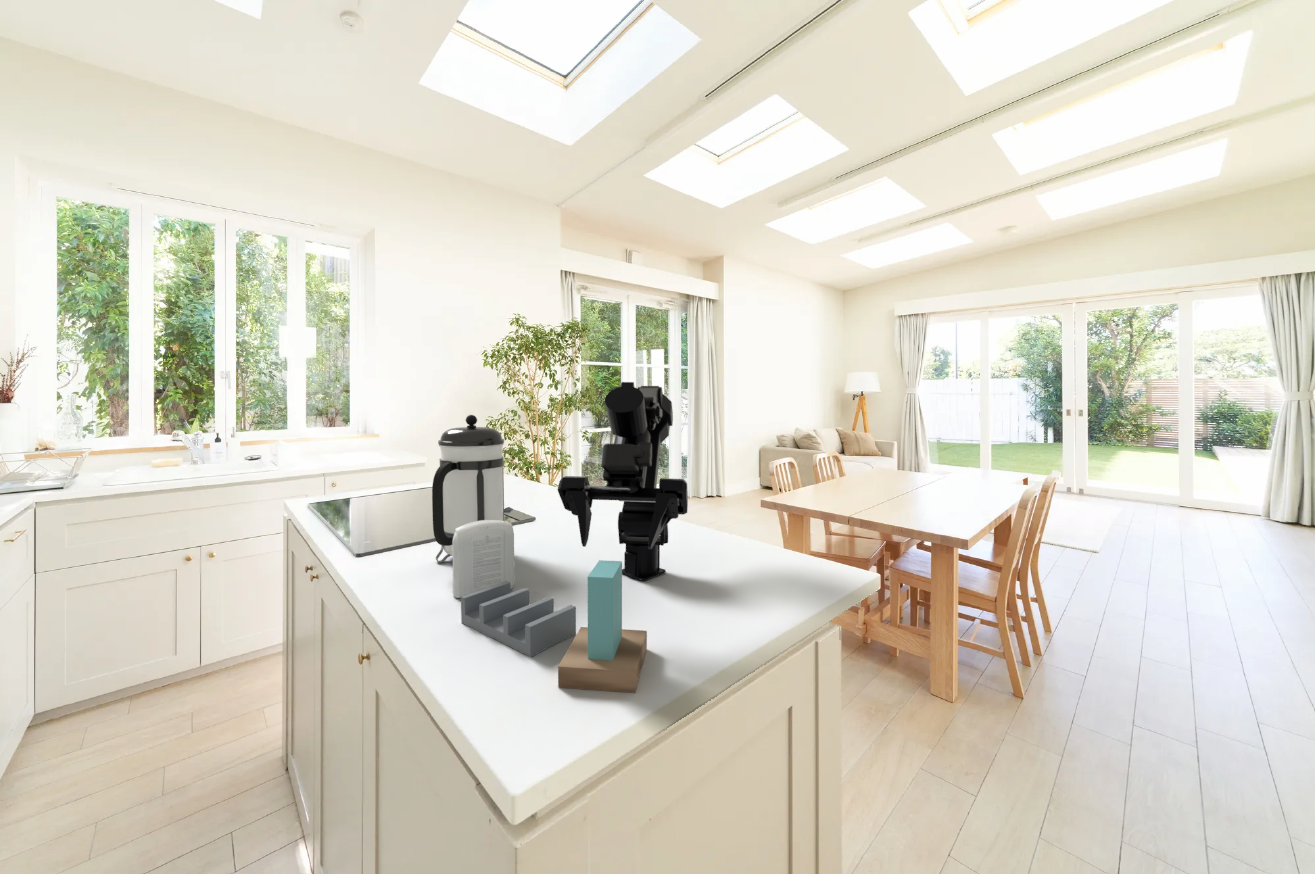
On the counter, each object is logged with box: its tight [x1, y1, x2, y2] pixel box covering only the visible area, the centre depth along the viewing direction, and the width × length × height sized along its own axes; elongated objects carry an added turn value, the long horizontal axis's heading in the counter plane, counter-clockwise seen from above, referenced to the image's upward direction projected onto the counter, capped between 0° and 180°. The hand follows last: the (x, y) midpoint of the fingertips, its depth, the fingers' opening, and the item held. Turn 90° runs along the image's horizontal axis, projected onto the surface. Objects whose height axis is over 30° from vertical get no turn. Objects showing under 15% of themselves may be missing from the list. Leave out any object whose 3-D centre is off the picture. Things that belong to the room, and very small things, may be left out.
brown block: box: [557, 626, 648, 694], centre depth 61 cm, size 10×9×2 cm
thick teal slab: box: [587, 559, 623, 661], centre depth 61 cm, size 6×3×10 cm, turn 174°
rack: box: [460, 581, 577, 658], centre depth 71 cm, size 8×16×4 cm, turn 53°
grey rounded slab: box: [452, 520, 515, 599], centre depth 85 cm, size 10×4×12 cm, turn 123°
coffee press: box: [431, 414, 505, 564], centre depth 101 cm, size 17×16×30 cm
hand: (616, 546), depth 67 cm, fingers open, 9 cm apart
